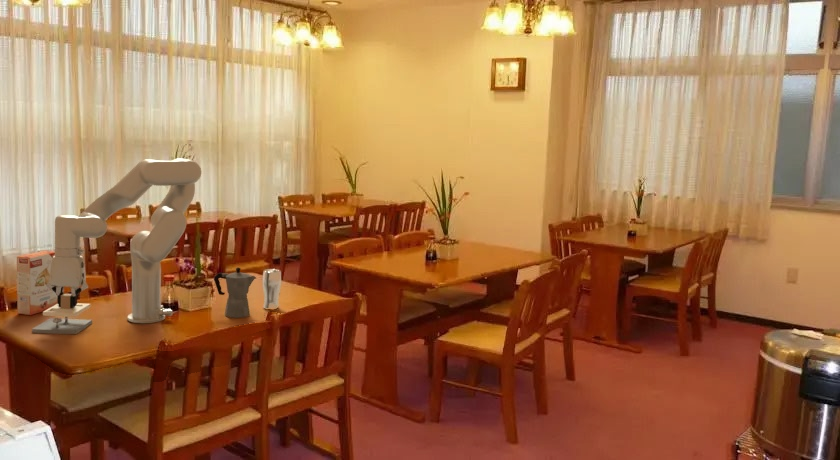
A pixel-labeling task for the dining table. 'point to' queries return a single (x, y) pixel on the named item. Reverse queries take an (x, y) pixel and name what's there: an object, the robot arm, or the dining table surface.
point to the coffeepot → (236, 292)
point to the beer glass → (271, 287)
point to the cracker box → (34, 283)
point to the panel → (66, 308)
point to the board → (62, 326)
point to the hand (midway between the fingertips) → (67, 306)
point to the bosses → (59, 321)
